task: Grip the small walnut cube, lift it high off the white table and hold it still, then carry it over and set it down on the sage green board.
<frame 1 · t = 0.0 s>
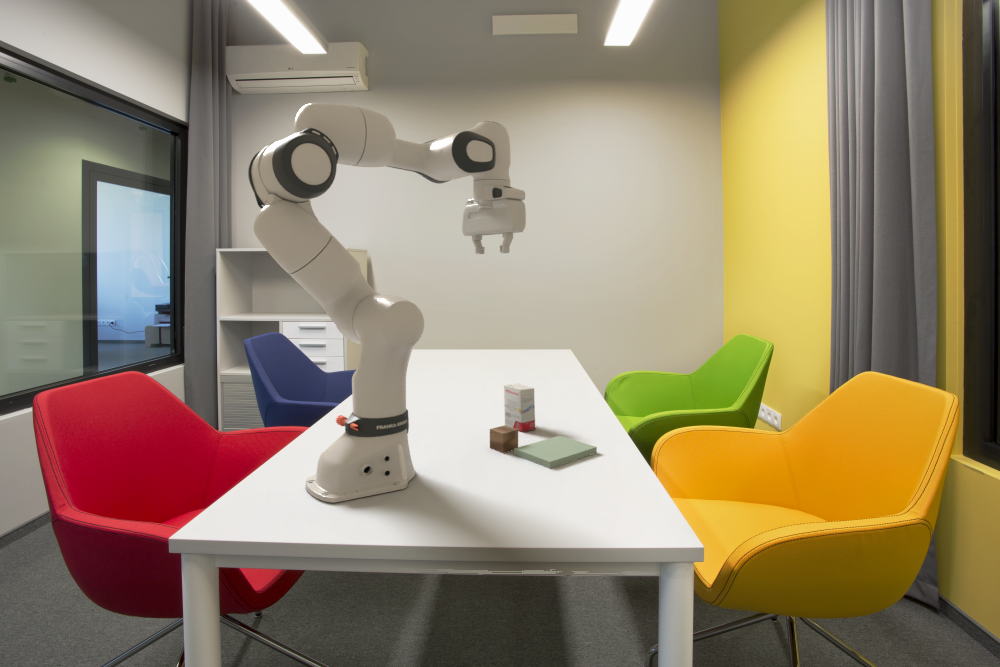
hand: (491, 253, 130), 48 cm above the table, tool pointing down, fingers open, 8 cm apart
sage board: (555, 453, 130), on the table
walnut cube: (503, 448, 134), on the table
ink box: (519, 428, 152), on the table
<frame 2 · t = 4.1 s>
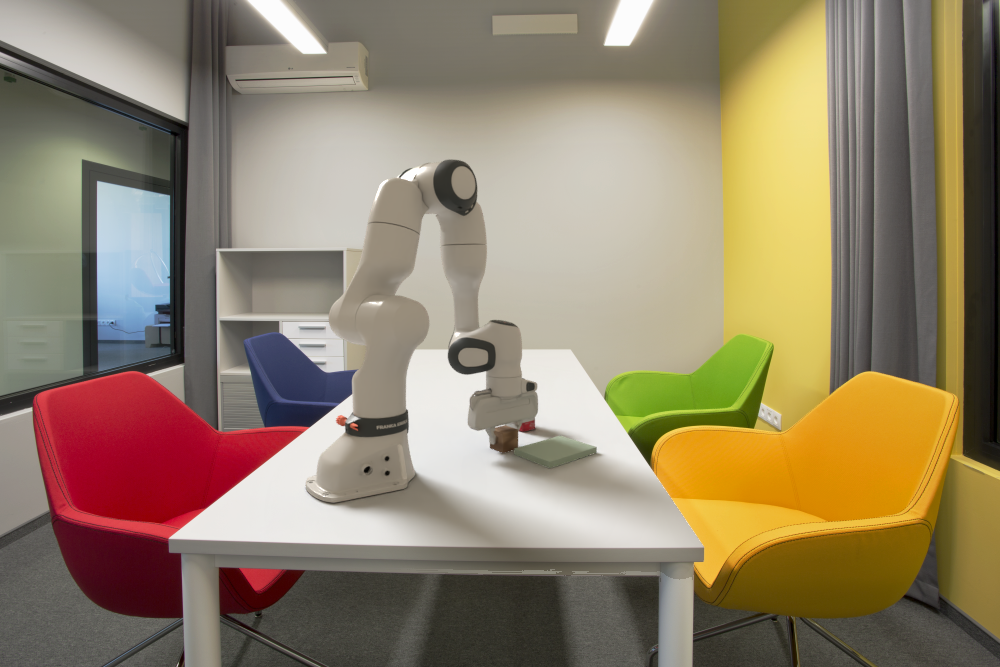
hand: (503, 440, 134), 2 cm above the table, tool pointing down, fingers closed on walnut cube, 5 cm apart
walnut cube: (504, 448, 134), on the table, touching gripper
everything else where it was.
when the fingers open (5 cm above the table, at t = 13.2 s): walnut cube drops 1 cm, resting on sage board.
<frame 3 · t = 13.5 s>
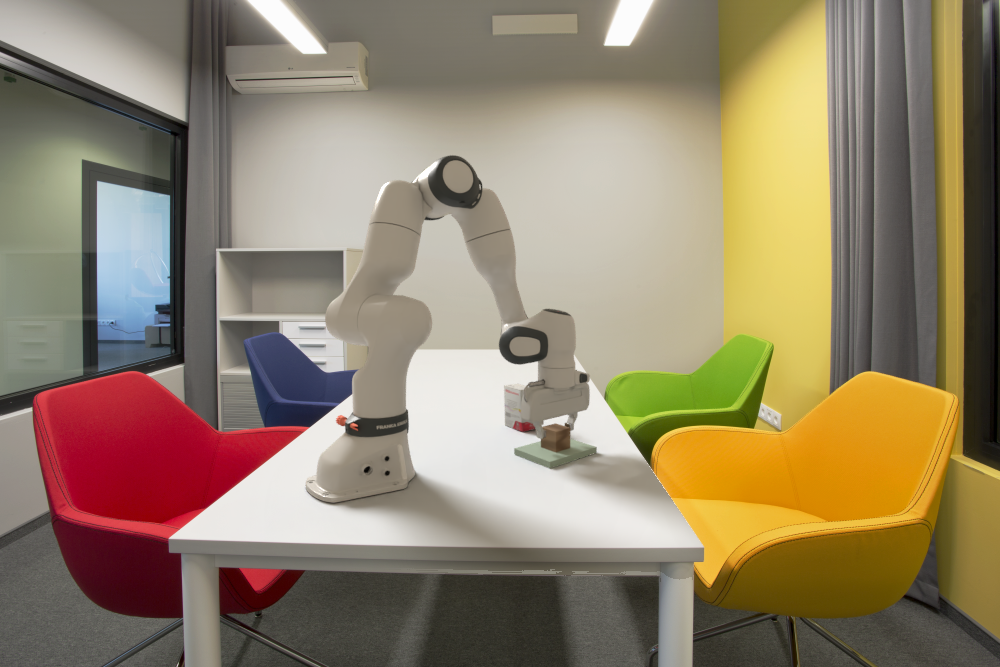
hand: (555, 434, 130), 5 cm above the table, tool pointing down, fingers open, 8 cm apart
walnut cube: (555, 447, 130), point 1 cm above the table, touching sage board
everything else where it was.
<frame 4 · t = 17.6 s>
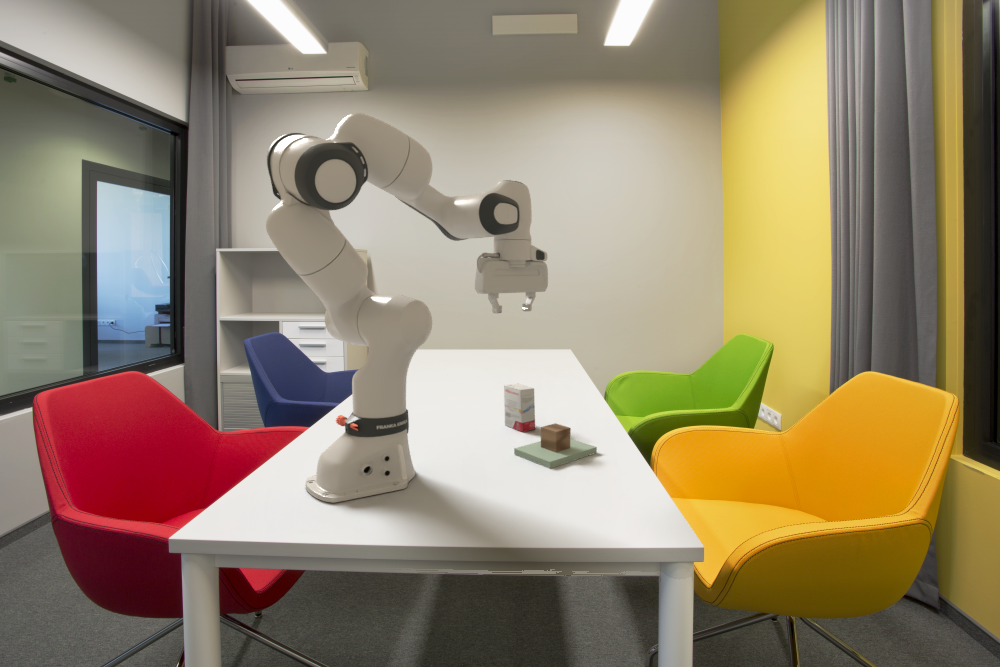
hand: (512, 312, 128), 34 cm above the table, tool pointing down, fingers open, 8 cm apart
nothing on the table moved.
at the end: walnut cube inside the target area (0.1 cm from its centre), point 1.5 cm above the table; walnut cube tilted 0°; the gripper is holding nothing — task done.
